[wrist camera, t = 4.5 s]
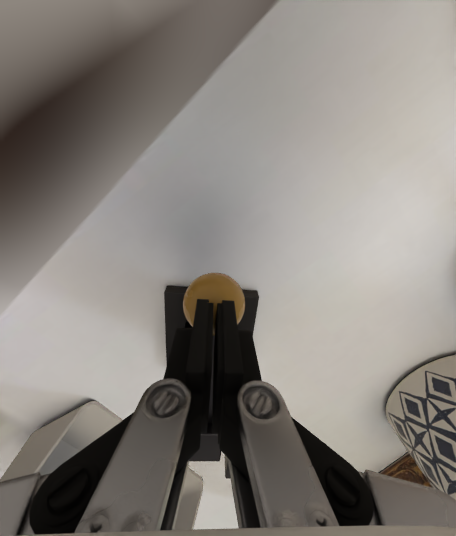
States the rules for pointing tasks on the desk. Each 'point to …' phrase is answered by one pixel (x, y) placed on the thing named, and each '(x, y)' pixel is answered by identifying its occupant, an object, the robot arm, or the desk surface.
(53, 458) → the white storage bin
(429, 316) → the desk surface
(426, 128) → the desk surface
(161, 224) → the desk surface
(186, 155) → the desk surface
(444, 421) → the planter
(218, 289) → the switch lever
